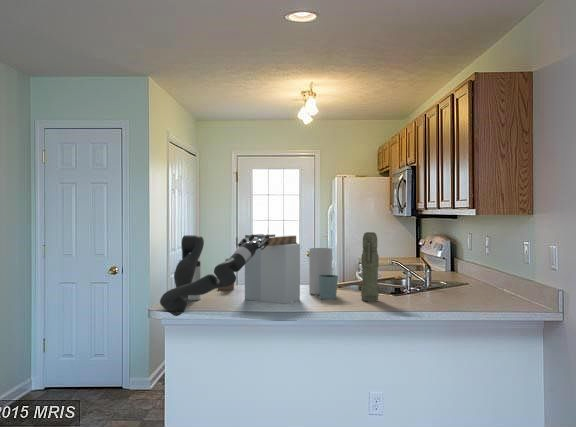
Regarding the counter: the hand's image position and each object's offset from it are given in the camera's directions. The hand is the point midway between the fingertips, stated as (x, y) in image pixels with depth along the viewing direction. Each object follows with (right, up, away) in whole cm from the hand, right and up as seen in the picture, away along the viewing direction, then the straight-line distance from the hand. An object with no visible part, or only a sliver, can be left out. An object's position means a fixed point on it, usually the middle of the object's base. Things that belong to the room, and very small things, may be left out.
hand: (260, 235), depth 273 cm
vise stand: (+5, -34, +21) cm, 40 cm away
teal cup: (+34, -34, +26) cm, 55 cm away
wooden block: (-23, -34, +57) cm, 70 cm away
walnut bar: (+9, -5, +16) cm, 19 cm away
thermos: (+55, -34, +19) cm, 68 cm away
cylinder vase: (+31, -34, +42) cm, 63 cm away
